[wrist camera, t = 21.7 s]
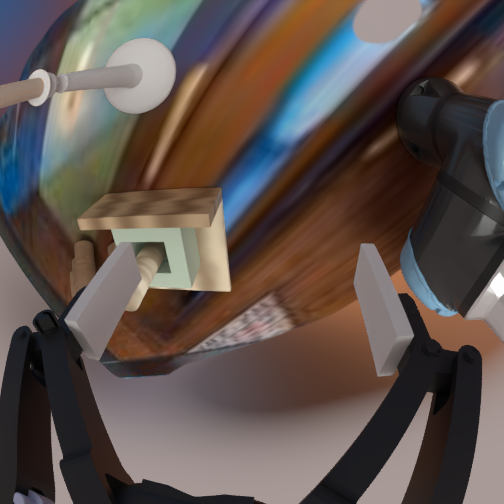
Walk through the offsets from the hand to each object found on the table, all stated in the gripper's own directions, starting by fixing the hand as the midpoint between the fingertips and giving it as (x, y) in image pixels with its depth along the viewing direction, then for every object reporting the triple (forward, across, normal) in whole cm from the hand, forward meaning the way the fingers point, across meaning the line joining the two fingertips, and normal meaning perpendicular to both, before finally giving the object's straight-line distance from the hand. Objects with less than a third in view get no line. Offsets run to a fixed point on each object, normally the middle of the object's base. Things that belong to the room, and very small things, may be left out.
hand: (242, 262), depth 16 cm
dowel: (+28, +18, +15) cm, 37 cm away
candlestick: (+31, +19, -13) cm, 39 cm away
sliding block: (+29, +18, +15) cm, 38 cm away
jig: (+31, +18, +17) cm, 40 cm away
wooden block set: (+30, +37, +20) cm, 52 cm away
